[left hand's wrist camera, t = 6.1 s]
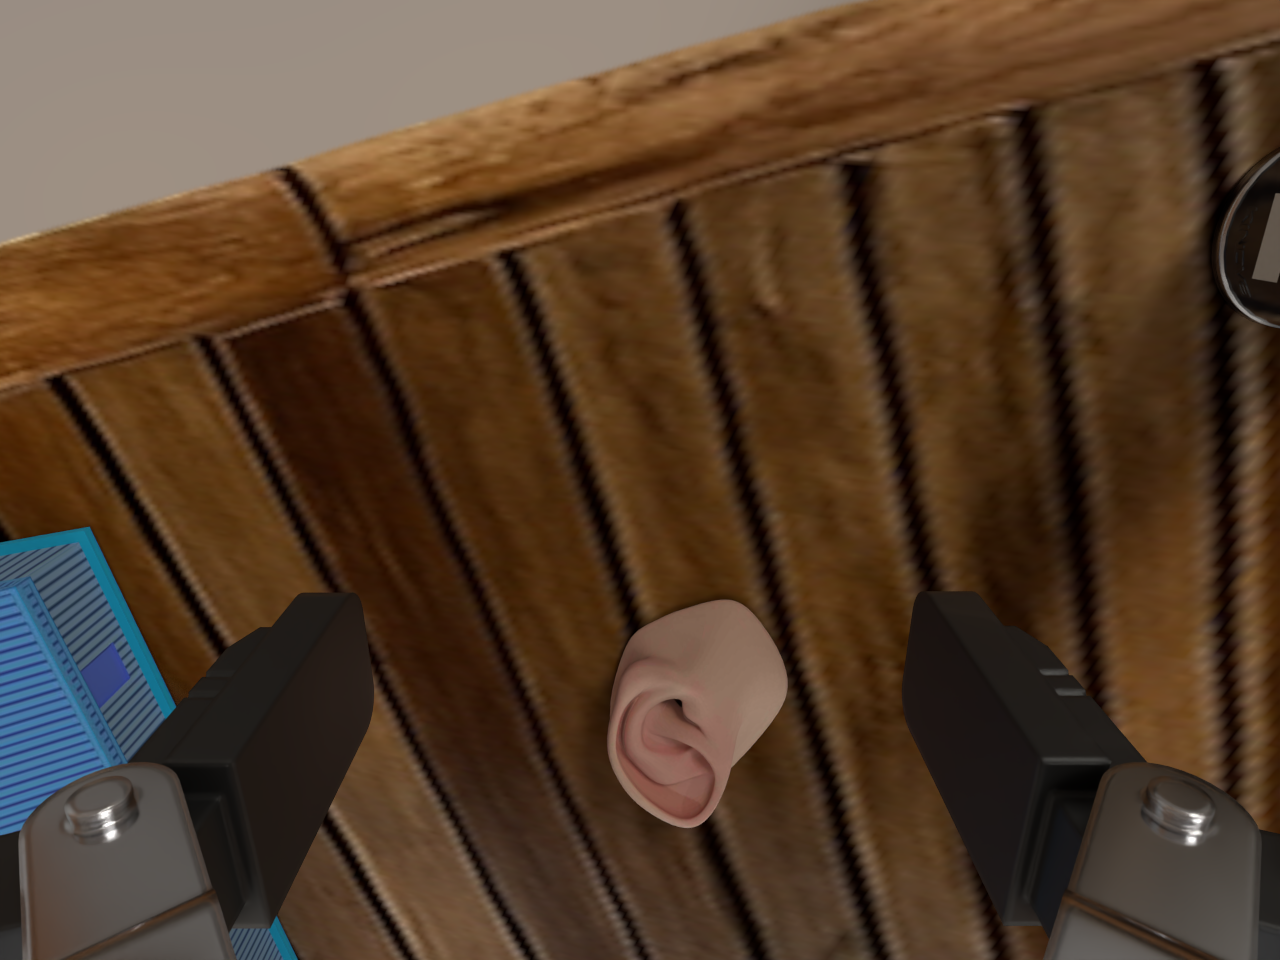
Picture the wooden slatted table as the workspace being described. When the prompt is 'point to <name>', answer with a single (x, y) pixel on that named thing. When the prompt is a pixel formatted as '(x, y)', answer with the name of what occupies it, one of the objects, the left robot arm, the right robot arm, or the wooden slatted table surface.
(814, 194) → the wooden slatted table surface
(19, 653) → the model building
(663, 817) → the anatomical model
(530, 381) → the wooden slatted table surface
